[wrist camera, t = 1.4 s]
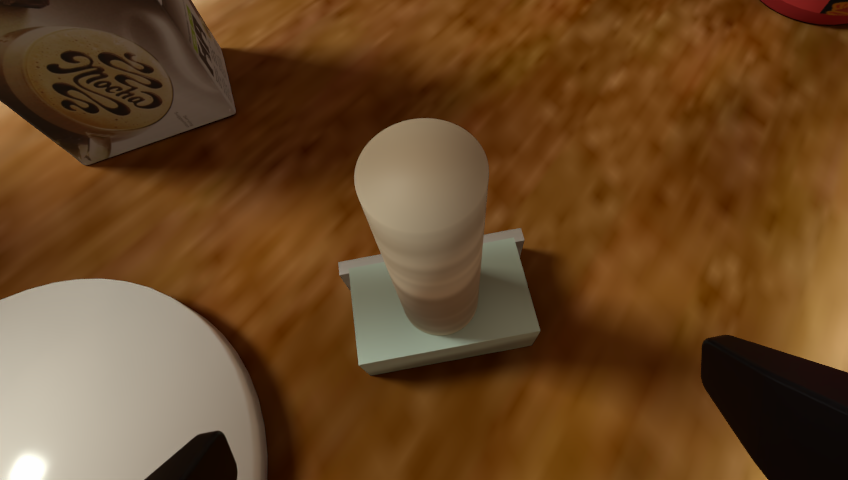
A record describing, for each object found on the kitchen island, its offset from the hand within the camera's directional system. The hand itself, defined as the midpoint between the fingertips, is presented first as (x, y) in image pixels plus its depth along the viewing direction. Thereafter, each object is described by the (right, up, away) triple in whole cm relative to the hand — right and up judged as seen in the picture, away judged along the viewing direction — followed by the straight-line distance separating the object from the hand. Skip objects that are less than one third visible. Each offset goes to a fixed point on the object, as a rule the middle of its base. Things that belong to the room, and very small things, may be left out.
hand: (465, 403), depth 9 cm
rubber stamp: (0, 0, +12) cm, 12 cm away
